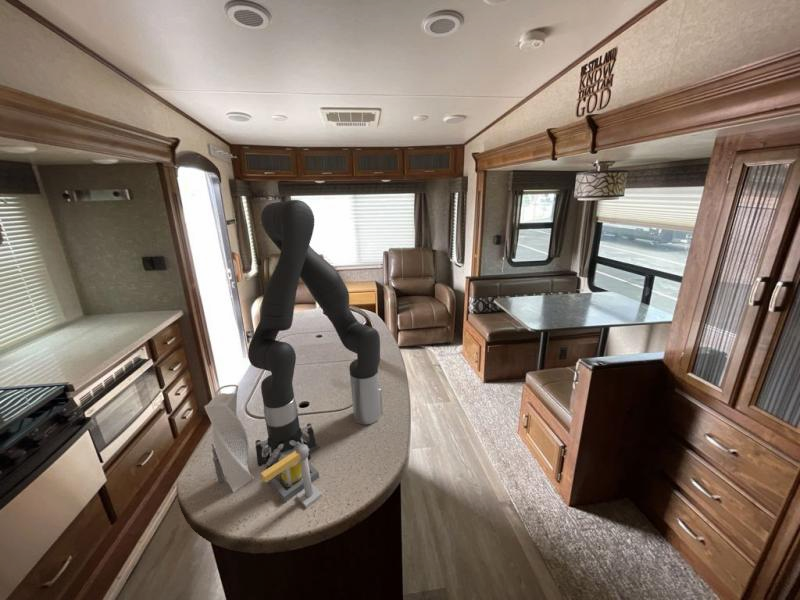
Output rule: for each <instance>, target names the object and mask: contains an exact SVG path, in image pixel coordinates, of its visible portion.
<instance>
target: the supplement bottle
mask: <svg viewBox="0 0 800 600" xmlns="http://www.w3.org/2000/svg"><path fill="white" fill-rule="evenodd" d="M294 451H296V447H294V449H291V450H287V451H285V452H282V453H281V452H280V455H281V456H280V458H279V461H280V460H282V459H284V458H285V457H287V456H288V455H290V454H291V453H293V452H294ZM280 476H281V481H282V483H283V485H284V486H285V487H288V488H291V487H292V486H294V485H295V484H297V483H298V482H299V481H301V480H302V479H303V477H302V471H301V465H300V460H299V461H297V462H296V463H294V464H293V465H291V466H290V467H288V468H287V469H286V470H284V471H283V472H281V475H280Z"/></svg>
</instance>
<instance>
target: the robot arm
mask: <svg viewBox="0 0 800 600" xmlns="http://www.w3.org/2000/svg"><path fill="white" fill-rule="evenodd" d="M260 221H261V225H262V226H261V227H262V228H263V230H264V233H265V234H266V235H267V237H269V239H270V241H272V242H273V244H274V245H275V246H276V247H277V249H278V250H279V251H280V255H279V258H278V260H277V264H276V265H275V268H274V270H273V272H272V274H271V276H270V278H269V279H268V282H267V283H266V286H265V289H264V292H263V297H262V303H261V310H260V318H259V322H258V324H257V326H256V328H255V330H254V333H253V336H252V338H251V341H250V342H249V346H248V348H247V349H248V350H247V354H248V355H247V356H248V361H249V363H250V365H252V366H253V367H254V368H256V369H260V370H264V371H268V372H270V373H271V374H270V375H267V376H266V377H265V378H264V379H263V380H262V382H261V385H260V389H261V390H260V391H261V397H262V401H263V402H262V403H263V414H264V420H265V427H266V431H267V439H264V440H262V441H261V440H260V439H257V440H255V452H256V453H255V454H256V461H257V467H263V466H266V470H267V469H268V468H270V467H271V466H273V465H274V463H273V460H274V459H275V458H276V457H277V455H278V454H279V452H281V453H282V452H285V451H287V450H291V449H294V447H298V446H300V445H303V444H305V445H307V446H308V452H309V455H308V461H310V460H311V454H310V449H311V448H312V447H315V446H316V444H317V441H316V438H315V437H316V436H315V432H314V429H313V426H312V424H311V423H307V424H306V426H305V427H302V428H301V426H300V420H299V413H298V411H299V410H298V406H297V401H296V398H295V393H294V387H293V386H294V385H293V381H294V374H295V368H296V367H295V366H296V361H297V354H296V351H295V348H294V347H293V346H292V345H291V344H289V343H288V342H286V341H285V342H284V341H280V340H276V339H277V337H278V335H279V332H280V331H281V332H282V331H288V330H290V329H291V327H292V325H293V321H294V312H295V305H296V297H297V296H296V295H297V290H298V286H299V282H300V279H301V281H302V282H303V283H304V285H305V286H306V288H307V289H308V291H309V292H310V295H311V296H312V297H313V299H314V300H315V302H316V303H317V305H319V307H320V308H321V310H322V312H323V313H324V314H325V316H326V317H327V318H328V321H330V323H331V324H332V327H333V328H334V330H335V333H336V334H337V335H338V338H339V340H340V341H341V343H342V346H343V347H345V348H346V350H348V351H350V352H352V353H355V354H356V357H357V358H356V359H354V360H353V361H351V363H350V365H349V366H348V367H349V368H348V369H349V378H350V390H351V400H352V401H351V402H352V415H353V419H354V421H355V422H356V423H358V424H359V425H364V426H365V425H371V424H375V423H376V422H377V421H378V420H379V419H380V418H381V415H382V414H383V412H384V411H383V395H382V392H383V391H382V389H381V387H380V380H379V378H380V377H379V366H380V362H381V339H380V338H381V337H380V333H379V331H378V330H377V329H376V328H374V327H371V326H368V325H365V324H364V323H361V322H359V321H358V319H357V318H356V317H355V315H354V314H353V312H352V311H351V308H350V293H349V290H348V288H347V285H346V283H345V282H344V279H343V278H342V277H341V275H340V273H339V272H338V270H336V268H335V267H334V266H333V265H332V264H330V262H328V261H327V260H326V259H325V258H324V257H322V255H320V254H319V253H317V251H316V250H314V248H312V247H311V246H310V244H311V242H312V237H313V234H314V228H315V216H314V212H313V210H312V208H311V207H310V205H308V204H307V203H306V202H305V201H302V200H300V199H290V200H284V201H276V202H275V201H274V202H271V203H269V204H267V205H265V206H264V207H263V209H262V212H261V215H260ZM303 433H304V434H306V435H307V436H308V437H309V439H310V441H308V442H306V441H304V440H303V439H302V438H301V437H302V435H303ZM268 446H269V447H270V449H269V452H268V453H267V455H266V454H265V456H263V451H264V449H265V448H266V447H268Z"/></svg>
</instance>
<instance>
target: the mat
mask: <svg viewBox="0 0 800 600" xmlns="http://www.w3.org/2000/svg"><path fill="white" fill-rule="evenodd" d="M301 438H302V439H303V440H304V441H306V442H308V441H310V439H309V436H307V435H306V434H304V433H303V435H302V437H301ZM320 448H321V447H320V445H319V444H318V443H316V446H315V447H312V448H311V449H310V455H311V454H312V453H314V452H316V451H317V450H319V449H320ZM269 449H270V447H269V446H268V445H267V446H266V447H265V449H264V451H262V453H264V454H265V456H266V455H267V453H268V452H269ZM296 449H297V447H296ZM280 456H281V455H280V452H279V454H278V455H277V457H276V458H275V459H274V460H273V462H272V463H273V465H274V464H276V463H277V462H279V458H280Z"/></svg>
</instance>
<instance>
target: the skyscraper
mask: <svg viewBox="0 0 800 600" xmlns="http://www.w3.org/2000/svg"><path fill="white" fill-rule="evenodd" d="M229 387H235V390H234V392H231V393H225V392H224V393H219V392H220V391H221V390H222V389H224V388H229ZM238 390H239V385H238V384H227V385H223V386H220V387H219V388H218V389H217V390H216V392H215V394H214V397H213V398H212V399H211V400H210V401H209V403H207V404H206V405H204V410H205V411H206V412H205V413H206V414H207V416H208V418H209V420H210V423H211V426H212V427H211V428H212V438H213V442H212V443H211V447H212V449H211V451H212V455H213V457H212V461H213V463H214V464H213V465H214V470H215V475H216V478H217V481H216V482H217V484H218V485H219V487H220V489H221V490H222V491H223V492H224V494H225V495H226V497H227V498H228V497H230V496H231V495H233V494H235V493H236V492H238V491H239V490H241V489H242V488H244V487H246V486H247V485H248V484H250V483H251V482H252V481H255V477H254V476H253V474H252V473H251V472H250V470H249V467H248V464H249V440H248V436H247V432H246V429H245V428H244V425H243V423H242V422H241V421H240V419H239V417H238V414H237V402H238V401H237V400H238V399H237V398H238Z"/></svg>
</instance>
